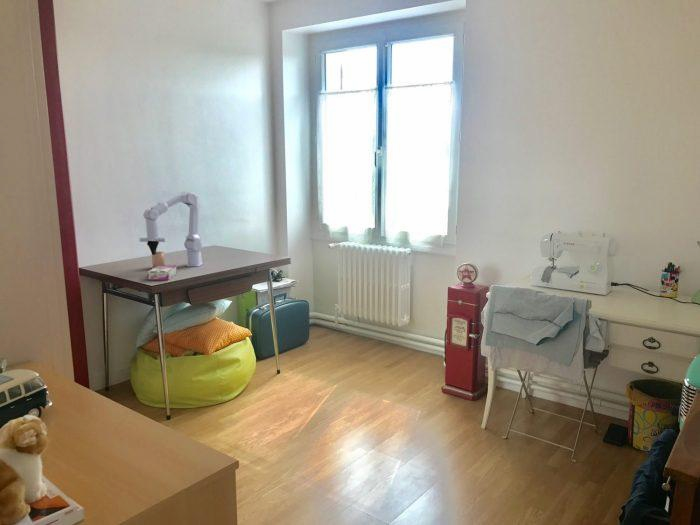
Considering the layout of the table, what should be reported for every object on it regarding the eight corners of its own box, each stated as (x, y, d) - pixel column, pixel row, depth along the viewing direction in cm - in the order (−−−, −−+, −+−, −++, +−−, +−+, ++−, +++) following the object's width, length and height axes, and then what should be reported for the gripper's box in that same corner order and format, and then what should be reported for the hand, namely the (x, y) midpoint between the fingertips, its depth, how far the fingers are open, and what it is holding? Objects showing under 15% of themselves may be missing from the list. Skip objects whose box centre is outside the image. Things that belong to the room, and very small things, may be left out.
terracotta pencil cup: (155, 266, 335) (154, 251, 333) (166, 266, 335) (165, 251, 333) (150, 268, 328) (149, 253, 326) (162, 268, 328) (161, 253, 326)
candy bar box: (157, 274, 315) (147, 280, 299) (156, 265, 314) (147, 271, 298) (177, 273, 315) (168, 280, 299) (176, 265, 314) (168, 271, 298)
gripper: (136, 231, 310) (138, 255, 313) (161, 231, 310) (163, 255, 312) (141, 229, 317) (143, 253, 320) (166, 229, 316) (168, 253, 319)
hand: (153, 254), depth 317 cm, fingers closed
